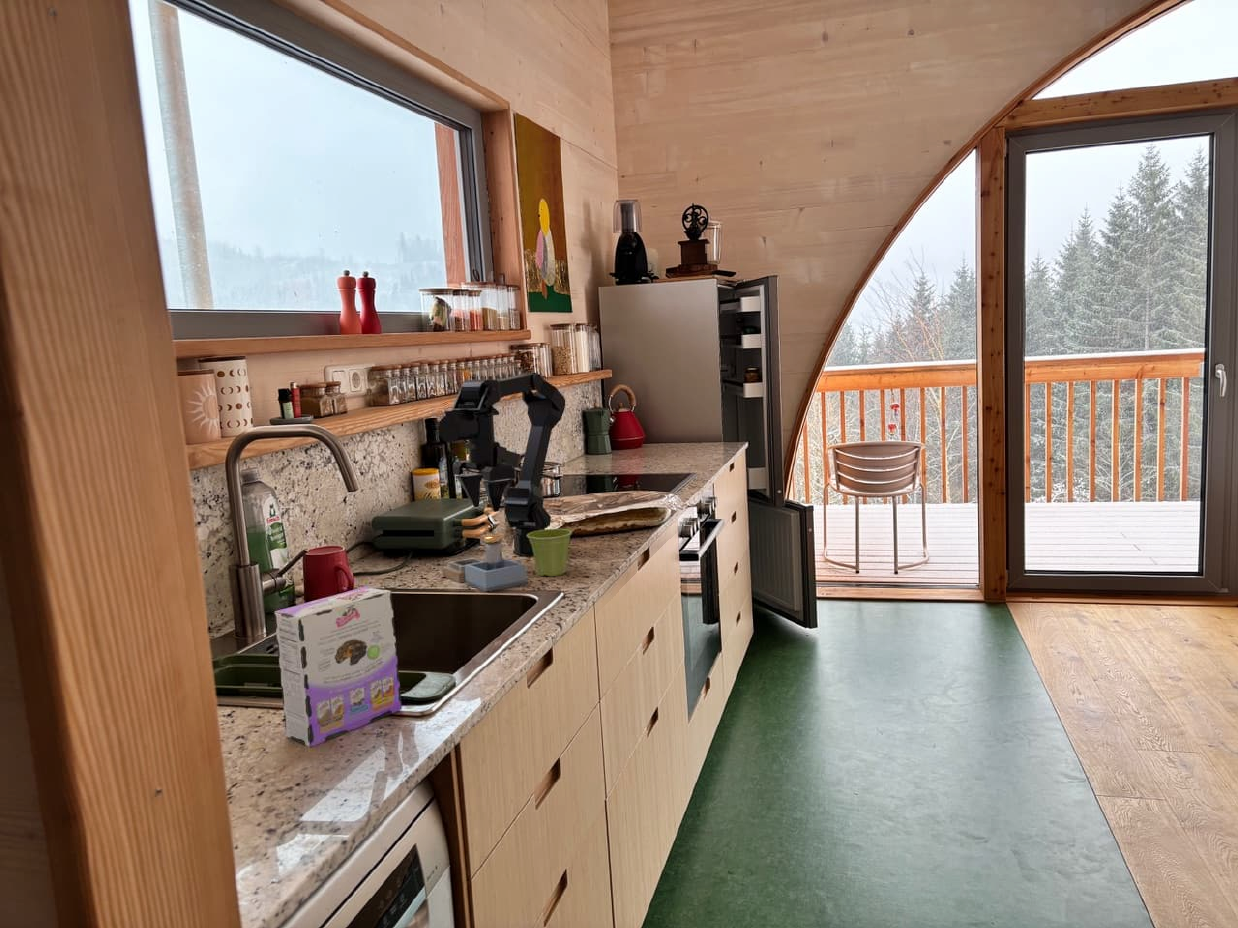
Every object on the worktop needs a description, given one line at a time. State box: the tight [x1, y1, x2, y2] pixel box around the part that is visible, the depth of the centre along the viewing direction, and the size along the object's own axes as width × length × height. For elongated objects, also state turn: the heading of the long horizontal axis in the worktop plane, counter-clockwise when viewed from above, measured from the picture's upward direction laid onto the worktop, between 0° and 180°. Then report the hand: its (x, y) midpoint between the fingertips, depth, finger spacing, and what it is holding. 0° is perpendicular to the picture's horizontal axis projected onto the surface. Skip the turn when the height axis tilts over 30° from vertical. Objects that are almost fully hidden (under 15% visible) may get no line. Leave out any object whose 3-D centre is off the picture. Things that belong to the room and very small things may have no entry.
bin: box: [465, 557, 527, 592], centre depth 187 cm, size 9×9×4 cm
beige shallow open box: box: [441, 557, 484, 583], centre depth 195 cm, size 8×8×3 cm
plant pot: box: [527, 528, 573, 577], centre depth 193 cm, size 9×9×9 cm
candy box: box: [274, 585, 403, 748], centre depth 117 cm, size 14×6×16 cm, turn 140°
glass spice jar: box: [483, 534, 503, 571], centre depth 187 cm, size 4×4×9 cm
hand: (486, 509), depth 200 cm, fingers open, 9 cm apart
